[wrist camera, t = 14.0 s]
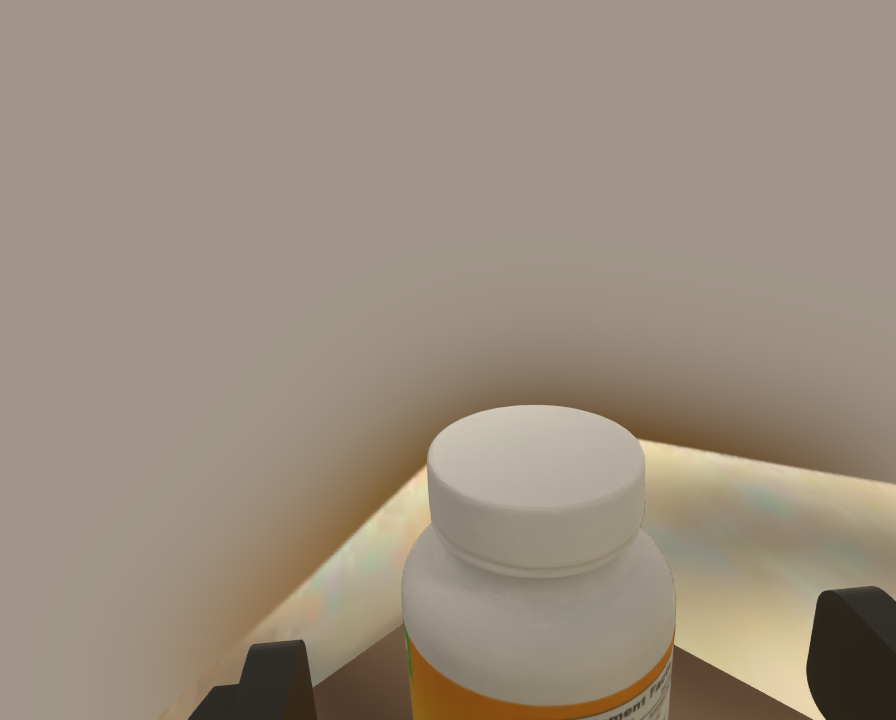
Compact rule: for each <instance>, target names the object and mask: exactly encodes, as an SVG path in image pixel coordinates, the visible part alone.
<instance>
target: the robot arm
mask: <svg viewBox="0 0 896 720" xmlns="http://www.w3.org/2000/svg"><path fill="white" fill-rule="evenodd" d="M806 673H807V681H808V685H809V689H810V692H811V695H812V697H813V699H814V702H815V704H816V705H817V707H818V709H819V711H820V712H821V714H822V715H823V716H824V718H825V719H826V720H896V601H895V600H894V599H892V598H891V597H890V596H889V595H888V594H887V593H886V592H885V591H883V590H882V589H880V588H878V587H874V586H868V587H858V588H847V589H837V590H827V591H824V592H822V593H821V594H820V595H819V597H818V600H817V605H816V611H815V617H814V623H813V629H812V635H811V641H810V647H809V654H808V660H807V667H806ZM188 720H317V714H316V708H315V702H314V696H313V689H312V683H311V677H310V671H309V665H308V659H307V652H306V647H305V644H304V641H303V640H293V641H282V642H272V643H262V644H253V645H252V646H251V647H250V649H249V652H248V655H247V658H246V662H245V665H244V668H243V672H242V675H241V679H240V682H239V684H235V685H225V686H215V687H213V688H212V690H211V691H210V692H209V693H208V695H207V696H206V697H205V698H204V700H203V701H202V702H201V703H200V705H199V706H198V707H197V708H196V710H195V711H194V712H193V714H192V715H191V716H190V717H189V719H188Z"/></svg>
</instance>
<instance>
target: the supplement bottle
mask: <svg viewBox="0 0 896 720" xmlns="http://www.w3.org/2000/svg"><path fill="white" fill-rule="evenodd" d="M427 472H428V492H429V505H430V512H431V522H432V523H431V524H430V525H429V526H428V527H427V528H426V529H425V530H424V531H423V533H422V534H421V535H420V536H419V538H418V539H417V541H416V542H415V544H414V545H413V547H412V549H411V551H410V553H409V556H408V558H407V560H406V564H405V567H404V571H403V577H402V610H403V622H404V632H405V643H406V652H407V663H408V673H409V683H410V692H411V702H412V712H413V720H668V715H669V698H670V685H671V672H672V661H673V647H674V636H675V617H676V612H675V611H676V595H675V588H674V582H673V577H672V574H671V571H670V568H669V566H668V564H667V562H666V560H665V558H664V556H663V554H662V552H661V550H660V549H659V547H658V546H657V545H656V543H655V542H654V541H653V539H652V538H651V537H650V536H649V535H648V534H647V533H646V532H645V531H644V530H643V529H642V528H641V523H642V521H643V517H644V513H645V498H644V487H645V457H644V453H643V450H642V448H641V446H640V444H639V442H638V441H637V439H636V438H635V437H634V436H633V435H632V434H631V433H630V432H629V431H628V430H626V429H625V428H623V427H622V426H620V425H619V424H617V423H615V422H614V421H611V420H609V419H607V418H604V417H602V416H599V415H596V414H593V413H590V412H586V411H582V410H578V409H573V408H567V407H560V406H547V405H523V406H522V405H521V406H511V407H501V408H495V409H491V410H487V411H483V412H479V413H476V414H473V415H470V416H468V417H465V418H462V419H460V420H458V421H456V422H454V423H453V424H451V425H450V426H448V427H447V428H445V429H444V430H443V431H441V432H440V433H439V434H438V435H437V437H436V438H435V439H434V441H433V442H432V444H431V446H430V448H429V451H428V457H427Z"/></svg>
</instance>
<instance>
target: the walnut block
mask: <svg viewBox="0 0 896 720" xmlns="http://www.w3.org/2000/svg"><path fill="white" fill-rule="evenodd" d="M312 689H313V696H314V702H315V708H316V714H317V720H413V712H412V702H411V692H410V683H409V673H408V663H407V652H406V643H405V632H404V624H403V625H401V626H400V627H399V628H397V629H396V630H394V631H393V632H391V633H390V634H389V635H387V636H386V637H384V638H383V639H382V640H380V641H379V642H377V643H376V644H374V645H373V646H372V647H370V648H369V649H367V650H366V651H365V652H363V653H362V654H360V655H359V656H357V657H356V658H355V659H353V660H352V661H350V662H349V663H348V664H346V665H345V666H343V667H342V668H340V669H339V670H338V671H336V672H335V673H333V674H332V675H331V676H329V677H328V678H326V679H325V680H323V681H322V682H321V683H319V684H318V685H316V686H315V687H314V688H312ZM668 720H813V719H811V718H809V717H807V716H805V715H803V714H802V713H800V712H798V711H796V710H794V709H792V708H790V707H789V706H787V705H785V704H783V703H781V702H779V701H777V700H776V699H774V698H772V697H770V696H768V695H766V694H764V693H763V692H761V691H759V690H757V689H755V688H753V687H751V686H750V685H748V684H746V683H744V682H742V681H740V680H738V679H737V678H735V677H733V676H731V675H729V674H727V673H725V672H724V671H722V670H720V669H718V668H716V667H714V666H712V665H711V664H709V663H707V662H705V661H703V660H701V659H699V658H698V657H696V656H694V655H692V654H690V653H688V652H686V651H685V650H683V649H681V648H679V647H677V646H675V645H674V647H673V661H672V672H671V685H670V698H669V715H668Z"/></svg>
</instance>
